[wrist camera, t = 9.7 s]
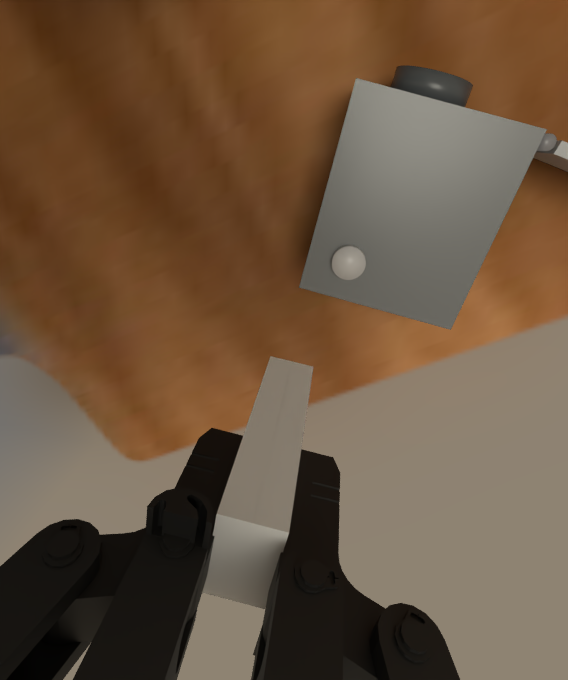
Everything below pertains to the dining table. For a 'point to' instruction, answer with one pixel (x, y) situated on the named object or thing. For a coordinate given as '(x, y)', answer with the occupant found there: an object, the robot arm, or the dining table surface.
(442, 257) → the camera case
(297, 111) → the dining table surface
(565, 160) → the side door
